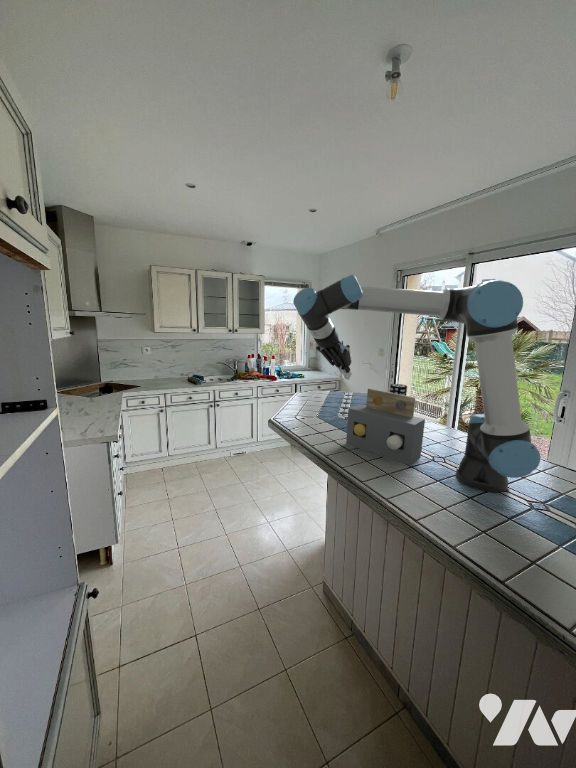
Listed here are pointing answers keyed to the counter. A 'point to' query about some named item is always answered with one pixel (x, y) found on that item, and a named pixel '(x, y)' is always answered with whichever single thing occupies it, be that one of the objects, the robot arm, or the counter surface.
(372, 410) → the console
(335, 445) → the counter surface
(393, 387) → the black white block
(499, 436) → the robot arm
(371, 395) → the placard
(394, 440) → the button ivory
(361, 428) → the button ochre
